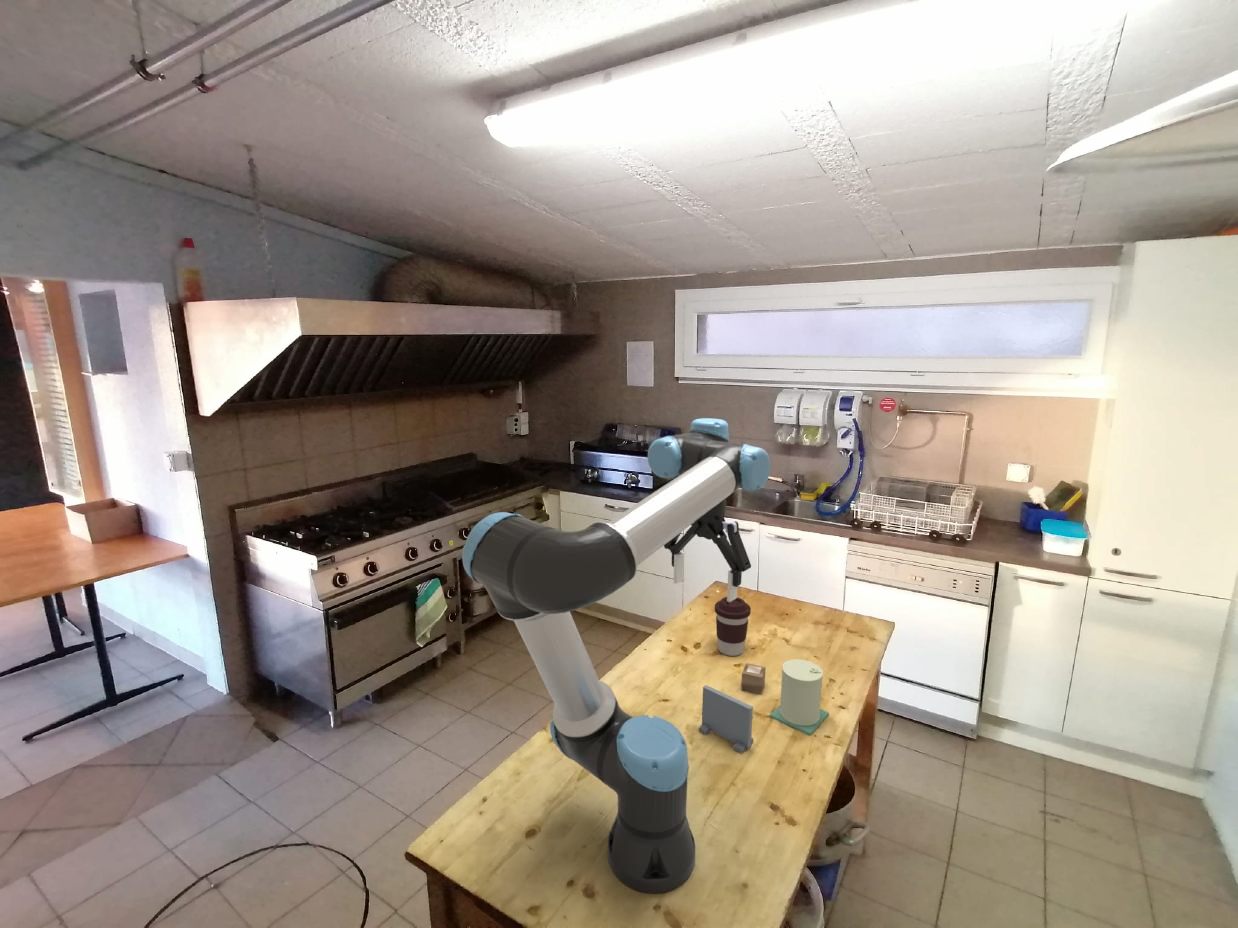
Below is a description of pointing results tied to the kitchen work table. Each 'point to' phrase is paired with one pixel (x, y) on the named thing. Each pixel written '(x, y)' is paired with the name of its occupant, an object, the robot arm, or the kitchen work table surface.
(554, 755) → the kitchen work table surface
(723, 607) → the coffee cup
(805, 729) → the mat
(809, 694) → the can
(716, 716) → the screen
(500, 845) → the kitchen work table surface
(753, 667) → the letter cube
